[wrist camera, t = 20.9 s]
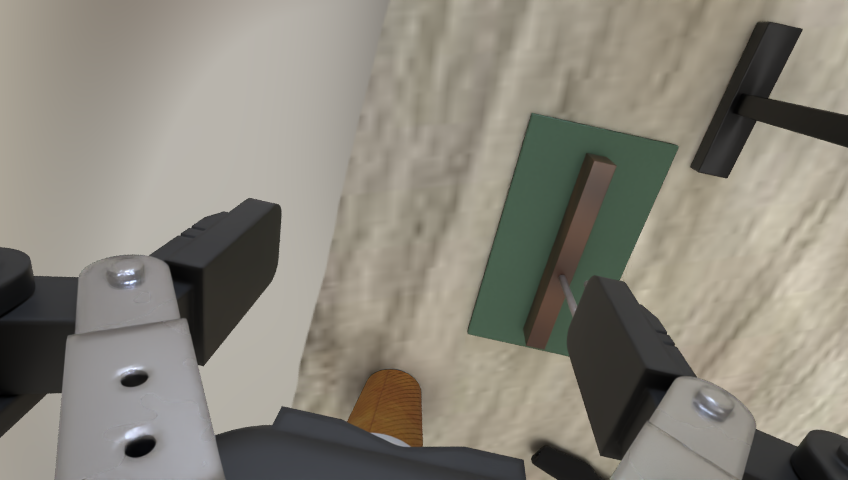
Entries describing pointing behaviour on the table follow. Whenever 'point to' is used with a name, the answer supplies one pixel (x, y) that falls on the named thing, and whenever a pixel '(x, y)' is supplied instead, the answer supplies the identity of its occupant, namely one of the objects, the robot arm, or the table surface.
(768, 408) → the table surface
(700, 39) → the table surface
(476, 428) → the table surface
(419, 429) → the disposable coffee cup
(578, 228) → the brown bar with hook
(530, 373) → the table surface
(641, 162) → the mat
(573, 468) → the electric trimmer
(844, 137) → the rail stand
